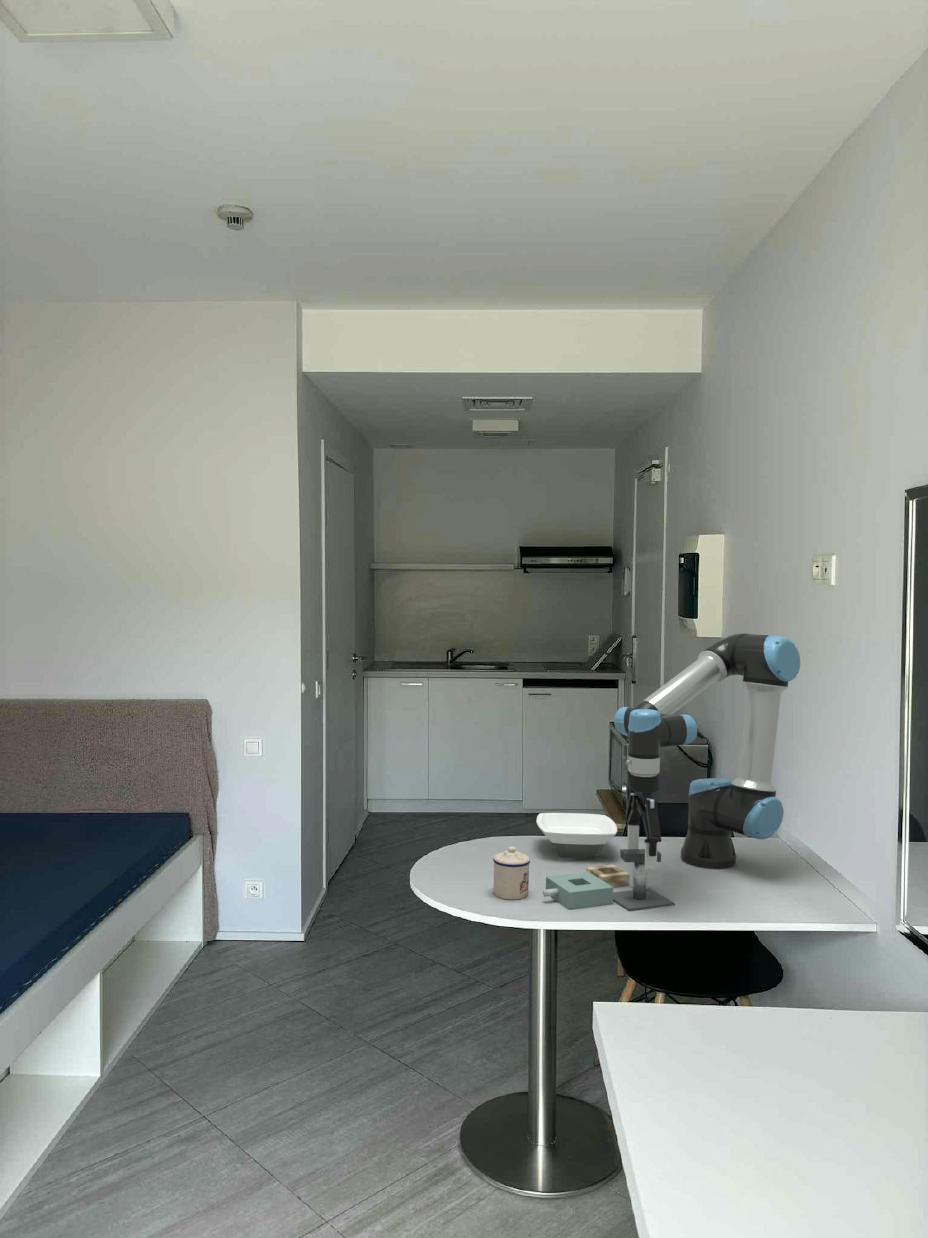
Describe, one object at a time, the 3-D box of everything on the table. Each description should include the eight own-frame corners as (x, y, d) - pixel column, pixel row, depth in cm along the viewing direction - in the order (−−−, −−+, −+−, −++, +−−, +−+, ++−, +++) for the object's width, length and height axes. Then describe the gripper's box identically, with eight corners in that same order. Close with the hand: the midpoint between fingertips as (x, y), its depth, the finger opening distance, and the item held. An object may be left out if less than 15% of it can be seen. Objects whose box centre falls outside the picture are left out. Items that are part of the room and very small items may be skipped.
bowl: (621, 865, 244) (622, 834, 244) (538, 862, 245) (539, 832, 244) (609, 841, 266) (610, 814, 266) (533, 839, 267) (533, 812, 266)
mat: (649, 890, 224) (649, 888, 224) (674, 905, 214) (675, 903, 214) (604, 895, 220) (604, 893, 220) (628, 911, 209) (628, 909, 209)
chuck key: (618, 895, 218) (620, 849, 218) (654, 895, 219) (655, 849, 219) (623, 901, 214) (625, 854, 214) (659, 900, 215) (661, 853, 215)
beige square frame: (612, 875, 235) (613, 864, 235) (629, 885, 227) (629, 874, 227) (586, 878, 232) (586, 867, 232) (602, 888, 224) (602, 877, 224)
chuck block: (587, 887, 225) (588, 872, 225) (612, 903, 214) (613, 887, 214) (533, 894, 219) (533, 878, 219) (555, 911, 208) (556, 894, 208)
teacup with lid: (527, 902, 214) (528, 854, 213) (490, 899, 215) (491, 851, 215) (531, 885, 226) (533, 840, 225) (496, 882, 227) (497, 837, 227)
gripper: (613, 763, 228) (612, 844, 229) (645, 785, 203) (643, 877, 204) (641, 762, 229) (640, 844, 230) (676, 785, 204) (674, 876, 205)
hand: (641, 859), depth 217 cm, fingers open, 13 cm apart
